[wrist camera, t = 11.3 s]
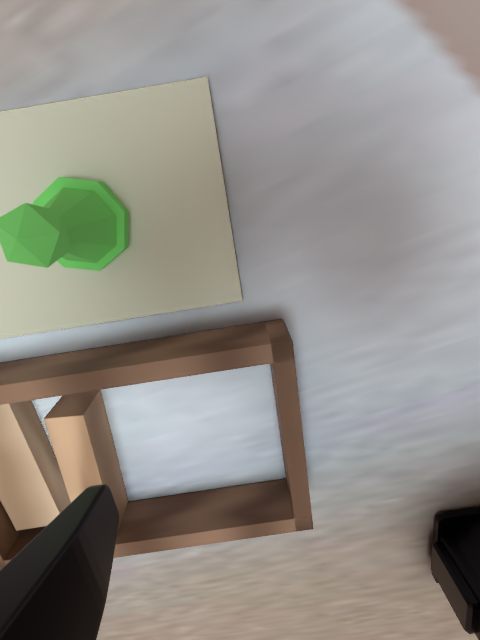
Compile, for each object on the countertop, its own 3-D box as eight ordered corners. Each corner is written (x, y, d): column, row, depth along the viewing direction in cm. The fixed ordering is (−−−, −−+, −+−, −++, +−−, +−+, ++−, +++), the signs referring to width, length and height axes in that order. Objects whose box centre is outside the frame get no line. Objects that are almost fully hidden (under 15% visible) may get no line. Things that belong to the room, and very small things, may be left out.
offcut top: (67, 389, 21) (101, 386, 21) (98, 500, 24) (128, 497, 24) (43, 418, 18) (83, 415, 18) (82, 539, 21) (116, 536, 21)
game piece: (22, 191, 16) (-87, 190, 11) (110, 163, 16) (47, 147, 10) (63, 280, 18) (-13, 321, 12) (145, 255, 17) (106, 285, 12)
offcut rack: (282, 318, 19) (292, 340, 17) (302, 488, 23) (313, 529, 21) (-58, 371, 20) (-105, 402, 17) (20, 529, 24) (-7, 575, 21)
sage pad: (207, 80, 15) (207, 76, 15) (242, 298, 19) (242, 301, 18) (-105, 132, 16) (-115, 131, 15) (-15, 338, 19) (-22, 342, 19)
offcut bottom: (26, 378, 20) (5, 397, 19) (77, 496, 23) (64, 523, 22) (-25, 386, 21) (-50, 406, 19) (33, 503, 24) (16, 530, 22)
